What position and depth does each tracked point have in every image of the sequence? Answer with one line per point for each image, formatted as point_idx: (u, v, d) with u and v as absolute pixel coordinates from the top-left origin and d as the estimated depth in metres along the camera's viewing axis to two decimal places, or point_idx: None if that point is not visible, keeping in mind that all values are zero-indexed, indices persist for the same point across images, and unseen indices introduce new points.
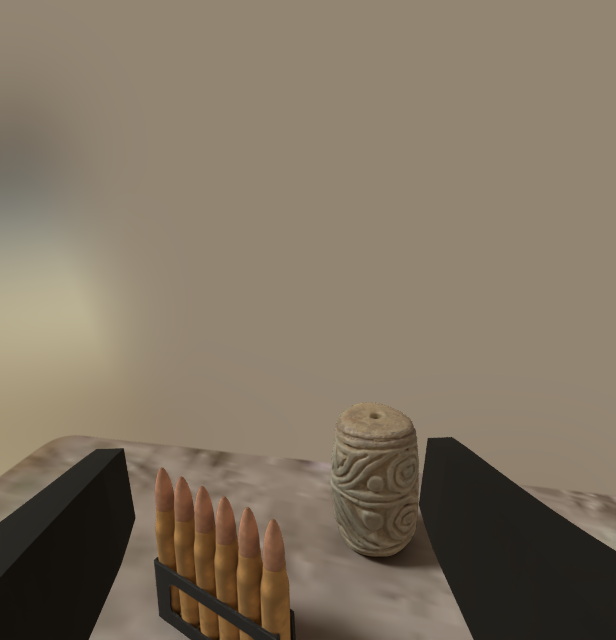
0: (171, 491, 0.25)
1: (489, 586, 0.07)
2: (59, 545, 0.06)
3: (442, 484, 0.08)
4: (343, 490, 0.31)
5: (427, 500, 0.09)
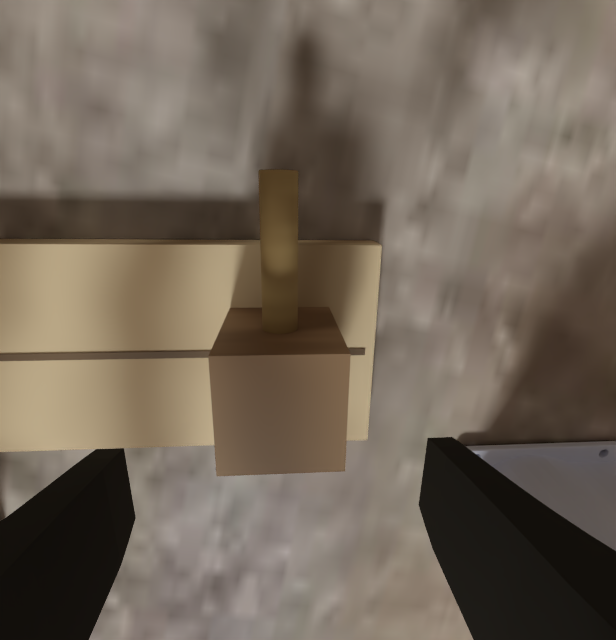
0: None
1: (489, 586, 0.07)
2: (59, 545, 0.06)
3: (442, 484, 0.08)
4: None
5: (427, 500, 0.09)
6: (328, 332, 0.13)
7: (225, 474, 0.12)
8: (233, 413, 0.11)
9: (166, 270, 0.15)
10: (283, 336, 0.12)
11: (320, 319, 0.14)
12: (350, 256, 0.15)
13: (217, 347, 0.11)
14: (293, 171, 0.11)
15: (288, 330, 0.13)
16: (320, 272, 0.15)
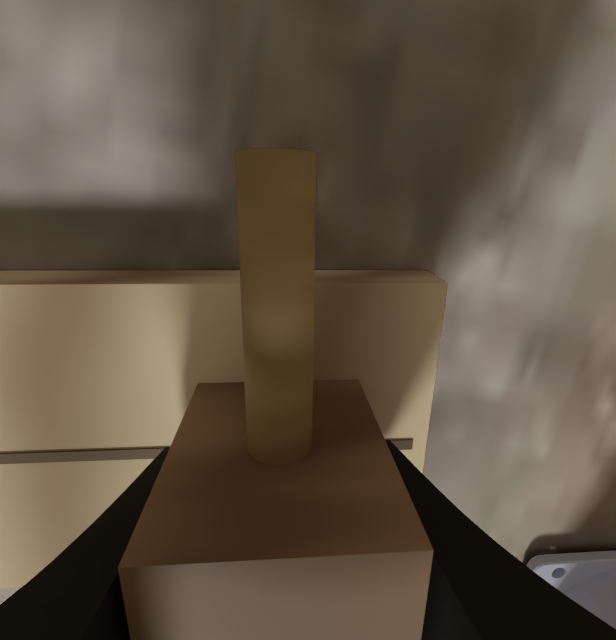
0: None
1: None
2: None
3: None
4: None
5: None
6: (371, 460, 0.07)
7: None
8: None
9: (88, 326, 0.09)
10: (286, 475, 0.06)
11: (350, 415, 0.08)
12: (395, 300, 0.09)
13: (147, 524, 0.05)
14: (307, 153, 0.05)
15: (295, 459, 0.07)
16: (346, 326, 0.09)
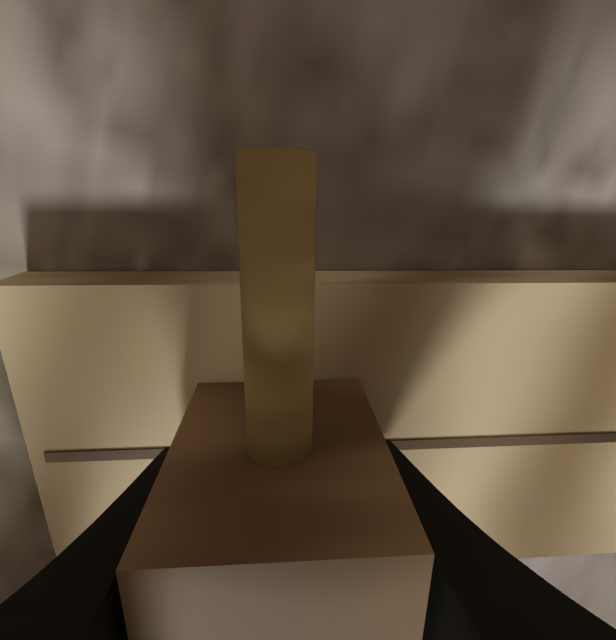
0: None
1: None
2: None
3: None
4: None
5: None
6: (372, 462, 0.07)
7: None
8: None
9: (412, 322, 0.09)
10: (286, 477, 0.06)
11: (350, 417, 0.08)
12: None
13: (146, 526, 0.05)
14: (308, 152, 0.05)
15: (295, 460, 0.07)
16: None
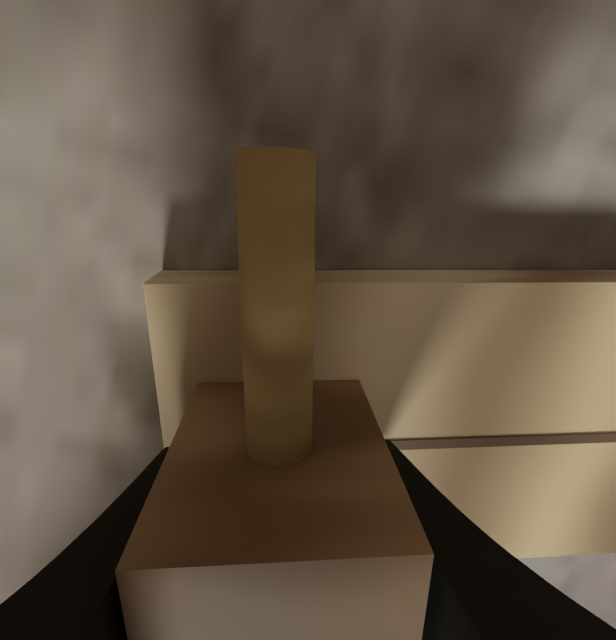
0: None
1: None
2: None
3: None
4: None
5: None
6: (371, 462, 0.07)
7: None
8: None
9: (546, 320, 0.10)
10: (285, 477, 0.06)
11: (350, 416, 0.08)
12: None
13: (145, 526, 0.05)
14: (307, 151, 0.05)
15: (295, 460, 0.07)
16: None
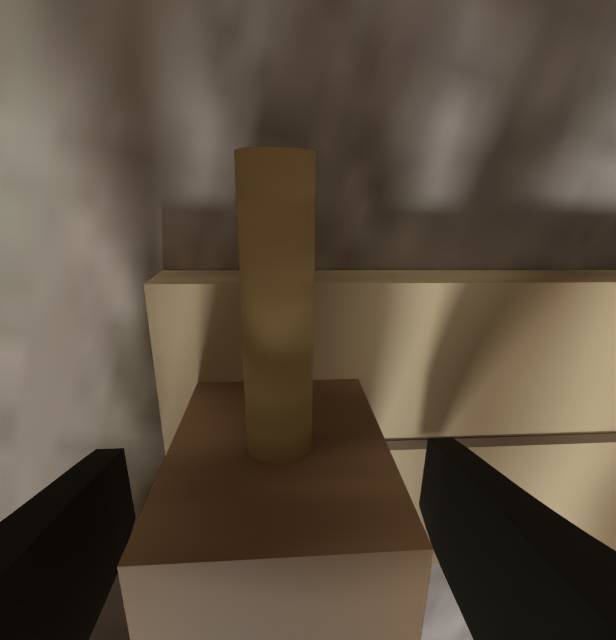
0: None
1: (489, 586, 0.07)
2: (59, 545, 0.06)
3: (442, 484, 0.08)
4: None
5: (427, 500, 0.09)
6: (372, 460, 0.07)
7: None
8: None
9: (546, 320, 0.10)
10: (285, 474, 0.06)
11: (349, 415, 0.08)
12: None
13: (147, 523, 0.05)
14: (307, 151, 0.05)
15: (295, 458, 0.07)
16: None
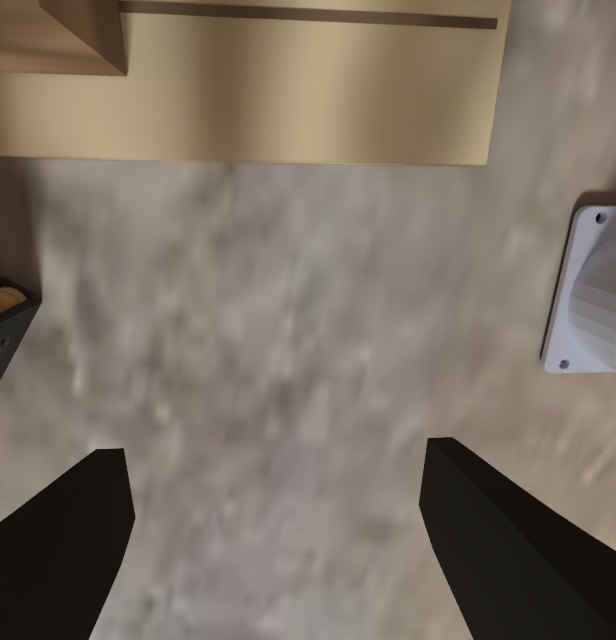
0: None
1: (489, 586, 0.07)
2: (59, 545, 0.06)
3: (442, 484, 0.08)
4: None
5: (427, 500, 0.09)
6: None
7: None
8: None
9: None
10: None
11: None
12: None
13: None
14: None
15: None
16: None
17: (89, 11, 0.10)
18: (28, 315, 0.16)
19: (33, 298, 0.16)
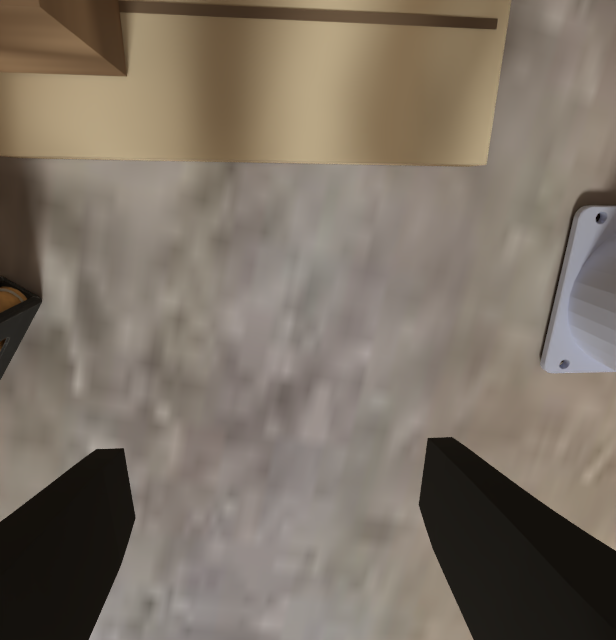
0: None
1: (489, 586, 0.07)
2: (59, 545, 0.06)
3: (442, 484, 0.08)
4: None
5: (427, 500, 0.09)
6: None
7: None
8: None
9: None
10: None
11: None
12: None
13: None
14: None
15: None
16: None
17: (89, 11, 0.10)
18: (28, 315, 0.16)
19: (33, 298, 0.16)
